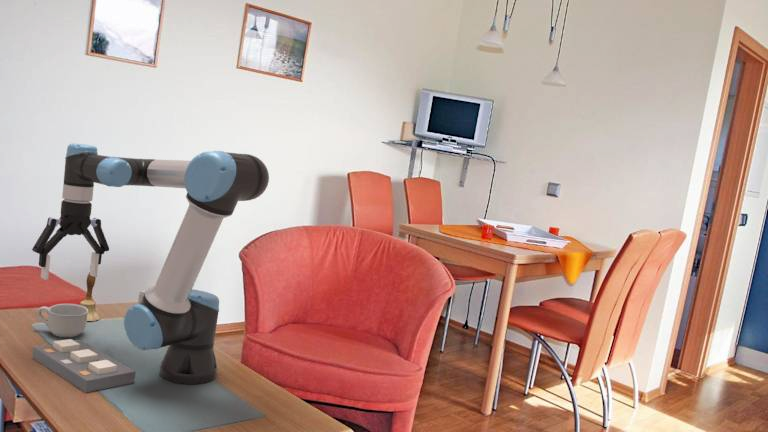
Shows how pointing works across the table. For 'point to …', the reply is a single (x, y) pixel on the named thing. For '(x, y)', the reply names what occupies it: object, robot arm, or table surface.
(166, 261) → the robot arm
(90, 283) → the hand bell
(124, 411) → the table surface
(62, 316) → the teacup
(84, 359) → the button middle
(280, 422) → the table surface
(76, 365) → the key board
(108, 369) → the button
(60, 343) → the button
